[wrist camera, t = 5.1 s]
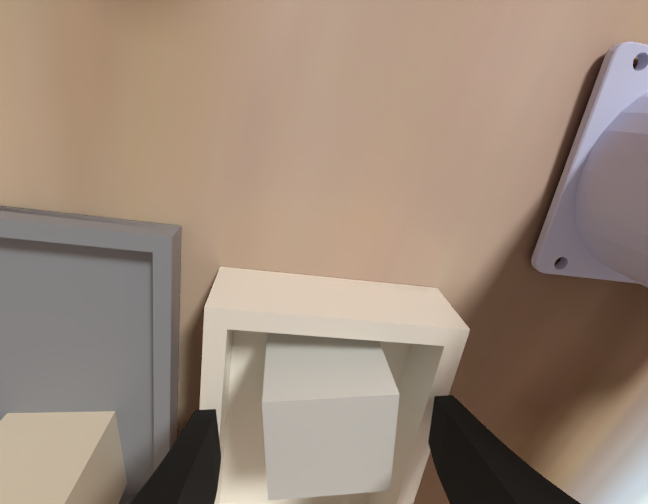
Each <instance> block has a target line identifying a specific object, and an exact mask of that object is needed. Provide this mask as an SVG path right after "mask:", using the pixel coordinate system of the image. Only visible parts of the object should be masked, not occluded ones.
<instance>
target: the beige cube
mask: <svg viewBox="0 0 648 504" xmlns="http://www.w3.org/2000/svg"><path fill="white" fill-rule="evenodd" d="M126 485H127V478H126V472H125V466H124V460H123V454H122V448H121V442H120V436H119V430H118V425H117V419H116V413H115V411H100V412H44V413H7V414H6V415H5V416H4V417H3V418H2V420H1V421H0V504H119V502H120V499H121V497H122V495H123V492H124V490H125V487H126Z"/></svg>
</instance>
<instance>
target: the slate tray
mask: <svg viewBox="0 0 648 504" xmlns="http://www.w3.org/2000/svg"><path fill="white" fill-rule="evenodd" d="M180 271H181V226H178V225H169V224H160V223H151V222H142V221H133V220H124V219H115V218H106V217H97V216H88V215H79V214H70V213H61V212H52V211H43V210H34V209H25V208H16V207H7V206H0V421H1V420H2V418H3V417H4V416H5V415H6V414H7V413H44V412H100V411H115V413H116V419H117V425H118V430H119V436H120V442H121V448H122V454H123V460H124V466H125V472H126V478H127V485H126V487H125V490H124V492H123V495H122V497H121V499H120V502H119V504H129V503H130V502H131V501H132V500H133V498H134V497H135V496H136V495H137V493H138V492H139V491H140V489H141V488H142V487H143V486H144V484H145V483H146V482H147V480H148V479H149V478H150V477H151V475H152V474H153V473H154V471H155V470H156V469H157V467H158V466H159V464H160V463H161V462H162V460H163V459H164V457H165V456H166V455H167V453H168V452H169V450H170V449H171V447H172V446H173V444H174V443H175V441H176V440H177V412H178V365H179V318H180Z"/></svg>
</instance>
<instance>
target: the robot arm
mask: <svg viewBox="0 0 648 504" xmlns="http://www.w3.org/2000/svg"><path fill="white" fill-rule="evenodd" d="M636 56H637V57H638V65H637V66H636V68H635V69H634V68H633V60H634V59H635V57H636ZM560 257H561V260H560V262H559V263H558V264H556V265H555V261H556V260H557V259H558V258H560ZM531 263H532V266H533V267H534V268H535V269H536V270H538V271H539V272H541V273H545V274H554V275H563V276H573V277H582V278H591V279H600V280H609V281H619V282H628V283H637V284H641V285H643V286H645V287H647V288H648V45H646V44H641V43H637V42H623V43H618V44H616V45H614V46H613V47H612V48H611V49H610V50H609V51H608V52H607V54H606V56H605V58H604V60H603V63H602V66H601V69H600V71H599V74H598V77H597V80H596V82H595V85H594V88H593V91H592V93H591V96H590V99H589V102H588V104H587V107H586V110H585V113H584V115H583V118H582V121H581V124H580V126H579V129H578V132H577V134H576V137H575V140H574V143H573V145H572V148H571V151H570V154H569V156H568V159H567V162H566V165H565V167H564V170H563V173H562V176H561V178H560V181H559V184H558V187H557V189H556V192H555V195H554V198H553V200H552V203H551V206H550V209H549V211H548V214H547V217H546V220H545V222H544V225H543V228H542V231H541V233H540V236H539V239H538V242H537V244H536V247H535V250H534V253H533V255H532V259H531ZM428 444H429V447H430V450H431V454H432V457H433V461H434V464H435V467H436V470H437V473H438V476H439V478H440V481H441V483H442V485H443V488H444V490H445V492H446V495H447V497H448V499H449V502H450V504H580V503H579V502H578V501H576V500H575V499H573V498H572V497H570V496H569V495H567V494H566V493H565V492H563V491H562V490H561V489H559V488H558V487H556V486H555V485H554V484H552V483H551V482H550V481H548V480H547V479H546V478H544V477H543V476H542V475H540V474H539V473H538V472H537V471H535V470H534V469H533V468H532V467H530V466H529V465H528V464H527V463H526V462H524V461H523V460H522V459H521V458H520V457H518V456H517V455H516V454H515V453H514V452H512V451H511V450H510V449H509V448H508V447H507V446H506V445H504V444H503V443H502V442H501V441H500V440H499V439H498V438H497V437H496V436H495V435H493V434H492V433H491V432H490V431H489V430H488V429H487V428H486V427H485V426H484V425H483V424H482V423H481V422H480V421H479V420H478V419H476V418H475V417H474V416H473V415H472V414H471V413H470V412H469V411H468V410H467V409H466V408H465V407H464V406H463V405H462V404H461V403H460V402H459V401H458V400H457V399H456V398H455V397H454V396H453V395H447V396H435V397H434V404H433V411H432V418H431V426H430V433H429V440H428ZM220 465H221V449H220V440H219V432H218V423H217V415H216V409H209V410H196V411H195V412H194V413H193V414H192V416H191V418H190V419H189V421H188V423H187V424H186V426H185V428H184V429H183V431H182V432H181V434H180V435H179V437H178V438H177V440H176V441H175V443H174V444H173V446H172V447H171V449H170V450H169V452H168V453H167V455H166V456H165V457H164V459H163V460H162V462H161V463H160V464H159V466H158V467H157V469H156V470H155V471H154V473H153V474H152V475H151V477H150V478H149V479H148V480H147V482H146V483H145V484H144V486H143V487H142V488H141V489H140V491H139V492H138V493H137V495H136V496H135V497H134V498H133V500H132V501H131V502H130V503H129V504H214V503H215V499H216V494H217V489H218V481H219V473H220Z"/></svg>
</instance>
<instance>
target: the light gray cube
mask: <svg viewBox="0 0 648 504" xmlns="http://www.w3.org/2000/svg"><path fill="white" fill-rule="evenodd" d="M399 396H400V394H399V391H398V389H397V386H396V384H395V381H394V378H393V376H392V373H391V371H390V368H389V365H388V363H387V360H386V358H385V355H384V352H383V350H382V347H381V345H380V342H379V341H371V340H358V339H345V338H332V337H319V336H307V335H294V334H281V333H268V332H267V345H266V357H265V370H264V382H263V395H262V412H263V428H264V443H265V459H266V474H267V490H268V501H269V500H282V499H294V498H306V497H319V496H331V495H343V494H356V493H368V492H380V491H390V487H391V477H392V466H393V456H394V446H395V436H396V426H397V416H398V406H399Z"/></svg>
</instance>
